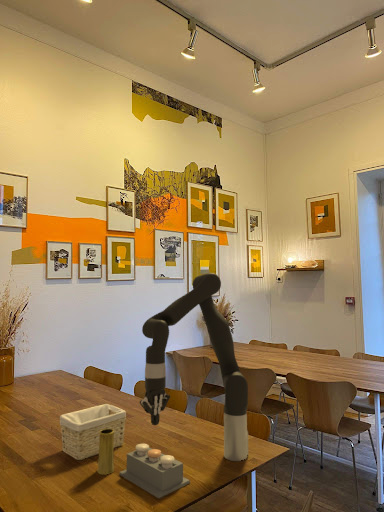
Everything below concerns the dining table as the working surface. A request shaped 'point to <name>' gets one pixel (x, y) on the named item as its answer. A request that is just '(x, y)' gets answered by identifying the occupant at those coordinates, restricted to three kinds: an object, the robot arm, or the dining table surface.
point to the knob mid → (154, 455)
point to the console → (154, 474)
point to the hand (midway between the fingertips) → (155, 424)
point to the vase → (106, 452)
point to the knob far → (142, 449)
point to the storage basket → (90, 429)
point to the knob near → (167, 461)
